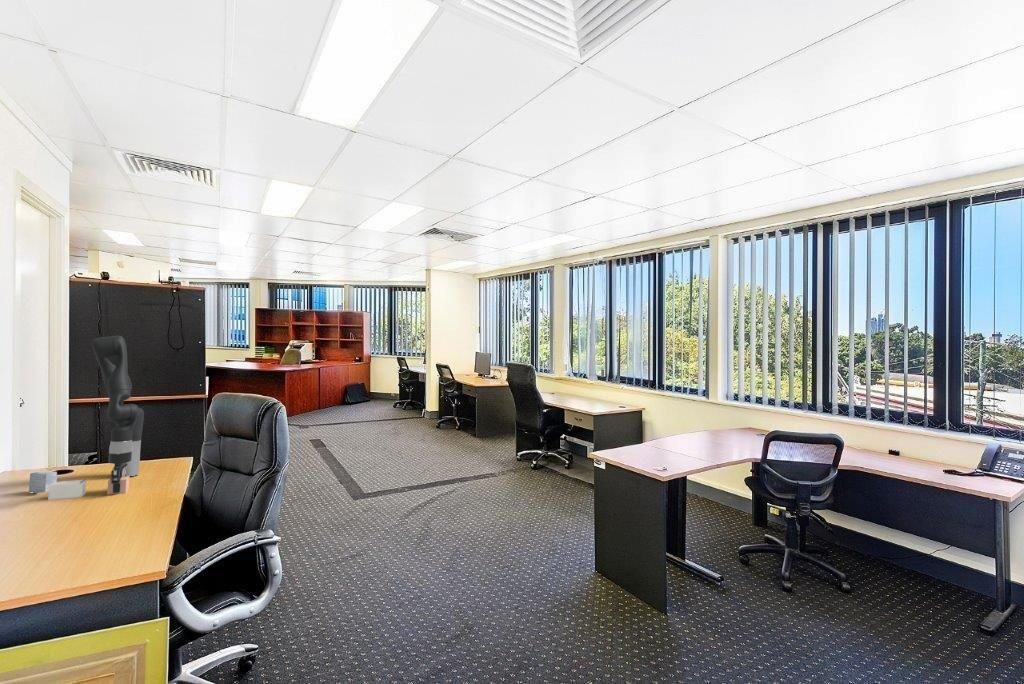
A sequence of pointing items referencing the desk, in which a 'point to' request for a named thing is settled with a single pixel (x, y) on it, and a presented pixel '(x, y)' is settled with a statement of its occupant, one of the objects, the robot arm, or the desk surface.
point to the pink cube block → (123, 486)
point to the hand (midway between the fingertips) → (118, 490)
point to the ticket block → (67, 489)
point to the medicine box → (41, 481)
